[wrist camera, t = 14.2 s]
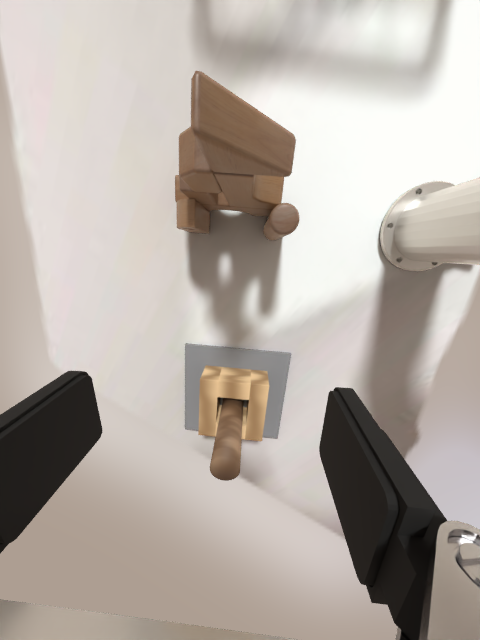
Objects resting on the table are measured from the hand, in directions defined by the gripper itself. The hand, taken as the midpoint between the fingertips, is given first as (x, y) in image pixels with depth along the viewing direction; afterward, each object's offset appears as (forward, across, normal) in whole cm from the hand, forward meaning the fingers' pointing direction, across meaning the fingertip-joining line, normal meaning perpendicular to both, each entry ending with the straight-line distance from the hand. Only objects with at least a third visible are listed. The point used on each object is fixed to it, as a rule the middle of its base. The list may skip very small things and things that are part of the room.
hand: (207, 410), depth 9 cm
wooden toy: (+32, +2, -11) cm, 33 cm away
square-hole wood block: (+31, +2, +22) cm, 38 cm away
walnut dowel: (+31, +2, +22) cm, 38 cm away
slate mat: (+31, +2, +22) cm, 38 cm away
